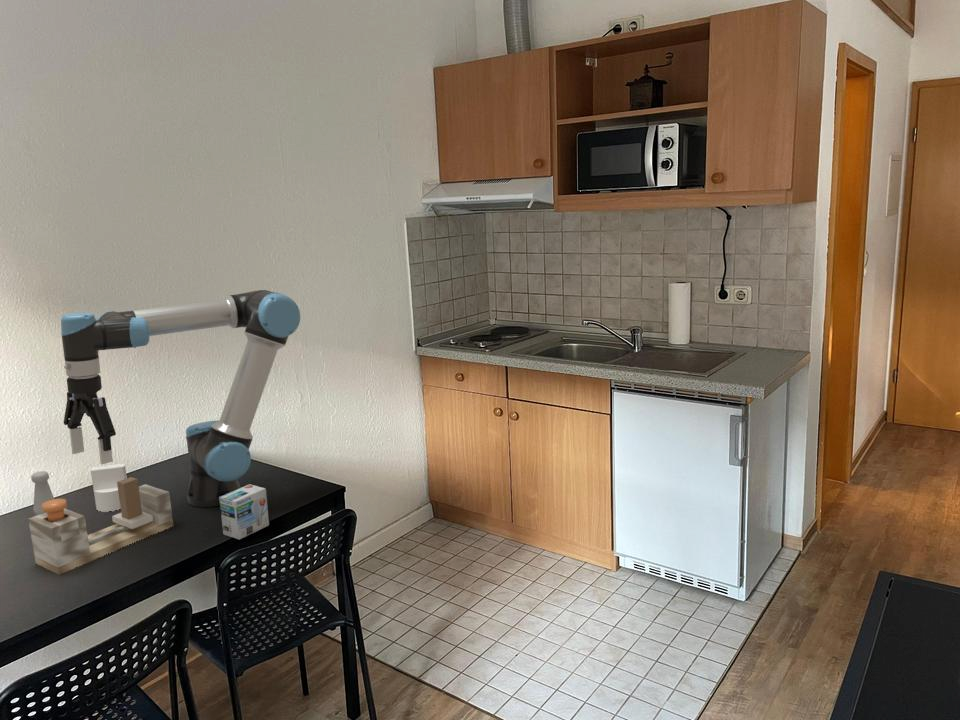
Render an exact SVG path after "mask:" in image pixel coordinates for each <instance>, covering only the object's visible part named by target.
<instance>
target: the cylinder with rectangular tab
mask: <svg viewBox="0 0 960 720" xmlns="http://www.w3.org/2000/svg"><path fill="white" fill-rule="evenodd" d="M90 474H91V475H90V476H91V481H92V488H93V493H94V501H95V507H96V511H97V510H98V512H100V511H101V512H100V513H110V512H109V511H112V512H116V511H115V510H117V511H120V510H119V509H121V507H120V500H119V493H118V486H117V482H118V481H121V480H124V479H127V478H128V476H127V469H126V464H125V462H124V463H116V464H108V465H101V466H93V467H91V469H90Z"/></svg>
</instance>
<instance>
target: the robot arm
mask: <svg viewBox="0 0 960 720" xmlns="http://www.w3.org/2000/svg"><path fill="white" fill-rule="evenodd" d="M300 323H301V311H300V308H299V306H298V304H297V303H296V301H295V300H293V298H291V297H289V296H287V295H286V294H284V293H281V292H280V293H279V292H274V291H270V290H267V289H265V290H264V289H259V290H253V291H248V292H242V293H237V294H229V295H227V296H226V297H225V298H224V299H219V300H218V299H216V300H209V301H203V302H202V301H201V302H194V303H193V302H192V303H183V304H175V305H174V304H173V305H167V306H159V307H151V308H141V309H135V310H134V309H133V310H125V311H119V312H118V311H113V310H112V311H106V312H104V313H103V312H102V313H101V314H100V315H99V316H98V318H97V319H96V317H95V314H94V313H92V312H72V313H67V314H64V315H63V316H62V317H61V319H60V326H61V327H60V328H61V332H60V335H61V341H62V349H63V357H64V363H65V364H64V366H63V367H64V369H65V372H66V373H65V374H66V376H67V378H66V387H67V392H66V403H65V410H64V411H65V412H64V417H63V425H64V426H67V429H69V436H70V437H69V438H70V445H71V447H70V448H71V454H72V455H76V454H80V453H84V452H85V446H84V437H83V429H82V426H83V425H82V423H81V422H82V421H83V418H84V416H85V415H86V416H87V417H89V418H90V420H91V422H92V424H93V426H94V428H95V430H96V432H97V434H98V437H97V444H98V450H99V451H98V453H99V461H100V465H105V464H108V463H113V461H114V459H113V450H112V449H113V448H112V440H111V439H112V437H114V436H116V435H117V432H116V429H115V427H114V423H113V422H112V419H111V416H110V413H109V411H108V407H107V402H106V398H105V396H102V397H98V392H99V391H101V390H102V388H103V386H102V377H101V375H100V373H101V364H100V356H99V352H100V351H107V350H119V349H129V348H131V349H133V348H134V349H136V348H139V347H144V346H145V347H146V346H147V345H148V344H149V342H150V337H152V336H161V335H166V334H167V335H169V334H175V333H182V332H189V331H197V330H204V329H213V328H218V327H227V326H228V327H230V328H232V329H239V328H245V330H244V332H243V333H244V334H245V336H246V340H247V341H246V344H245V346H244V349H243V353H242V355H241V358H240V361H239V364H238V367H237V370H236V372H235V375H234V378H233V381H232V383H231V387H230V390H229V393H228V394H227V398H226V401H225V404H224V407H223V408H222V411H221V412H222V413H221V415H220V418H219V420H218V419H217V420H207V421H201V422H198V423H194V424H191V425H189V426H188V427H186V429H185V435H186V436H185V439H186V444H187V453H188V455H187V456H188V462H189V469H190V479H189V485H188V489H187V492H186V499H187V503H188V505H191V506H193V507H197V508H210V507H211V508H212V507H218V506H220V499H219V497H221V496H223V495H226V494H228V493H230V492H233V491H235V490H237V489H240V488H242V487H241V484H240V483H239V478H241V477H242V476H244V475H245V474H246V472H247V471H248V470H249V468H250V466H251V464H252V463H251V461H252V455H251V452H250V447H251V444H252V441H253V439H254V437H253V434H252V433H251V427H252V424H253V421H254V419H255V416H256V413H257V410H258V408H259V404H260V401H261V398H262V396H263V393H264V390H265V387H266V384H267V381H268V378H269V376H270V373H271V371H272V368H273V367H272V366H273V363H274V361H275V359H276V356H277V353H278V350H279V349H282V348H284V347H286V344H287V343H288V339H289V336H291V335H292V334H294V333H295V332H296V330H297V329H298V327H299V325H300Z"/></svg>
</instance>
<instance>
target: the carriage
mask: <svg viewBox="0 0 960 720" xmlns="http://www.w3.org/2000/svg"><path fill="white" fill-rule="evenodd" d="M117 486H118V493H119V500H120V507H121V510H120V512H119V513H116V514H114V515H112V516H111V518H112V522H113V523H115V524H120V525H123V526H125V527H128V528H131V529H134V528H136V527H139V526H141V525H144V524H146V523H149V522H151V521H153V516H152V515H151V514H148V513H145V512H142V508H141V500H140V493H139V480H138V478H135V477H133V476H130V477H127V479H124V480H121V481H118V482H117Z"/></svg>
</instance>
